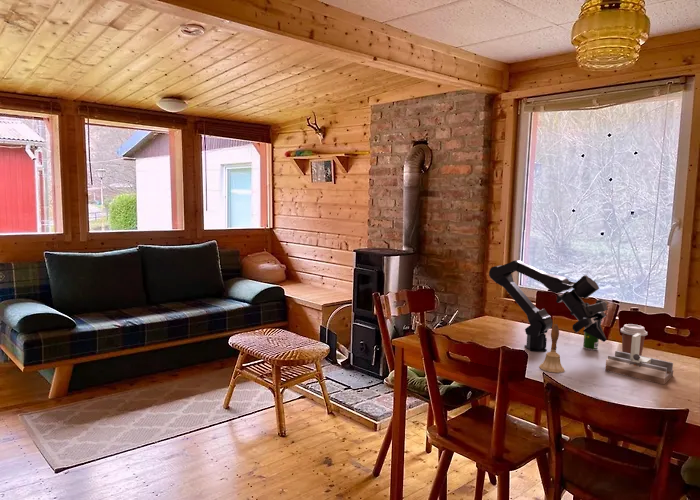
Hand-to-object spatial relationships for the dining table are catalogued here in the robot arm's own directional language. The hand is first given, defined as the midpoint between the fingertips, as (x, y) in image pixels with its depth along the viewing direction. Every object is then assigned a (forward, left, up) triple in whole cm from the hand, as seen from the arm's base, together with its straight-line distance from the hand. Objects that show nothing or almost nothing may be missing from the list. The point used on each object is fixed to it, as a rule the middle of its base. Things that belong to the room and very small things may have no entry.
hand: (605, 341), depth 186 cm
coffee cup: (+17, +8, -9) cm, 21 cm away
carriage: (+6, -10, -7) cm, 14 cm away
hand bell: (-21, -4, -9) cm, 23 cm away
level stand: (+7, -9, -9) cm, 15 cm away
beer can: (+7, +20, -9) cm, 23 cm away
